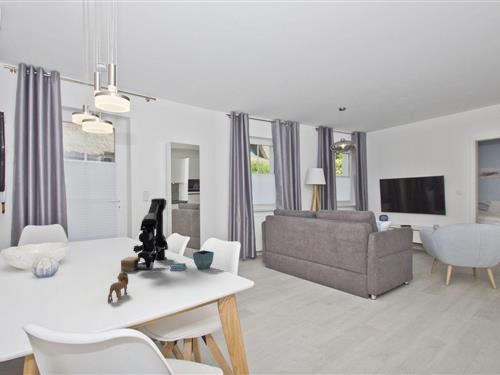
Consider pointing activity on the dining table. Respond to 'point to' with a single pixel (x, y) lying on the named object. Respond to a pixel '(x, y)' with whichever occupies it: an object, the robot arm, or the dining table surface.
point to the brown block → (129, 263)
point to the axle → (143, 265)
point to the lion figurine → (119, 286)
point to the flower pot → (203, 259)
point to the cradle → (178, 267)
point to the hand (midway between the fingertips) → (149, 267)
